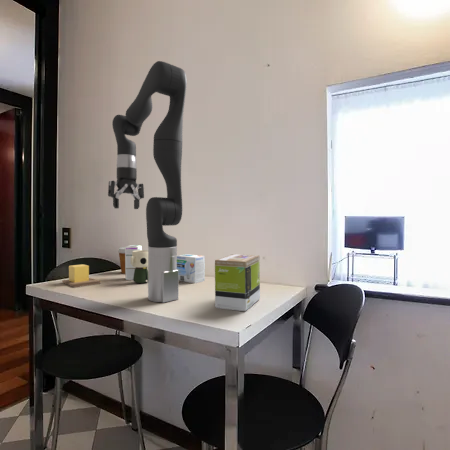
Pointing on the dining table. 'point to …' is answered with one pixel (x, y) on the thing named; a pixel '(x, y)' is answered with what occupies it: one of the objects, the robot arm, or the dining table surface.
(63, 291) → the dining table surface
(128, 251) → the syrup box
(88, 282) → the post block
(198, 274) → the light bulb box
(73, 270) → the yellow cube
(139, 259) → the character mug
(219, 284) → the tea box
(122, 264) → the disposable coffee cup
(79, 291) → the dining table surface
